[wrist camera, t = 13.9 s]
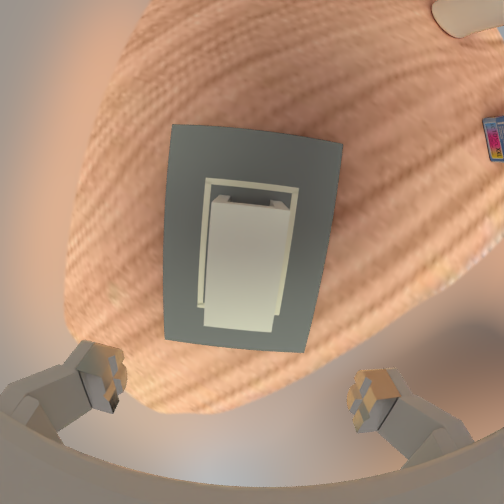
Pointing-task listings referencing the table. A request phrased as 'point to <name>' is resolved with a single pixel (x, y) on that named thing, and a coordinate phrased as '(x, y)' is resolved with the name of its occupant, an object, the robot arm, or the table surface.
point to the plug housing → (244, 264)
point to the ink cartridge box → (495, 137)
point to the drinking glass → (468, 15)
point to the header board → (249, 192)
